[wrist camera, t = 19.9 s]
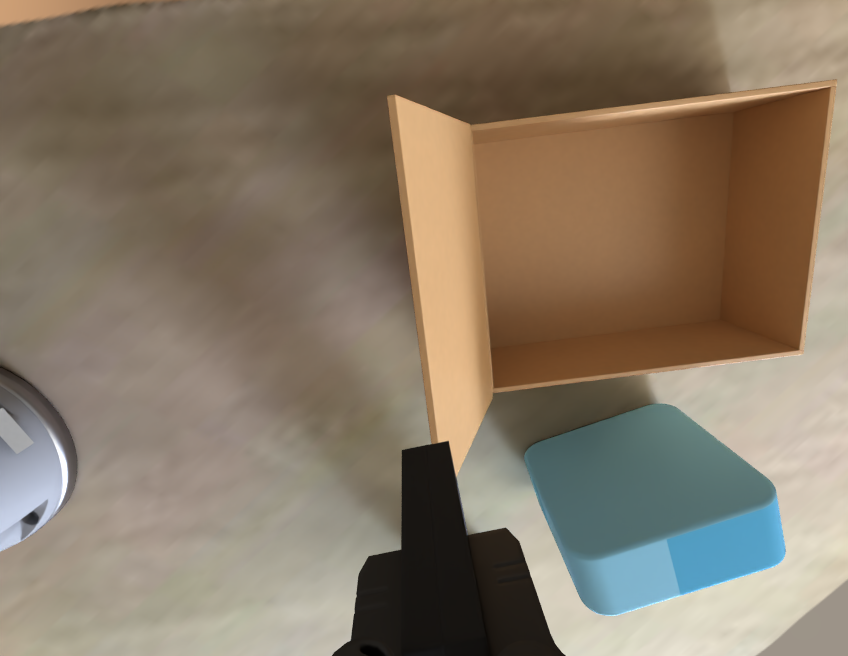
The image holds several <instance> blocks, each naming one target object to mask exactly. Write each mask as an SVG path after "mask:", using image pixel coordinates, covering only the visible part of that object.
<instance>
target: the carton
mask: <svg viewBox="0 0 848 656" xmlns="http://www.w3.org/2000/svg"><path fill="white" fill-rule="evenodd" d="M836 85H837V80H828V81H820V82H812V83H804V84H796V85H788V86H780V87H772V88H764V89H756V90H748V91H740V92H731V93H723V94H715V95H707V96H699V97H691V98H683V99H675V100H667V101H659V102H651V103H643V104H635V105H627V106H619V107H611V108H602V109H594V110H586V111H578V112H570V113H562V114H554V115H546V116H538V117H530V118H522V119H514V120H506V121H498V122H490V123H482V124H473V125H470V129H471V141H472V153H473V165H474V177H475V189H476V201H477V213H478V225H479V237H480V249H481V261H482V273H483V285H484V297H485V309H486V321H487V333H488V345H489V357H490V369H491V380H492V392H493V393H498V392H506V391H514V390H522V389H530V388H538V387H546V386H554V385H562V384H570V383H578V382H586V381H594V380H602V379H610V378H618V377H626V376H634V375H642V374H650V373H658V372H666V371H674V370H682V369H690V368H698V367H706V366H714V365H722V364H730V363H738V362H746V361H754V360H762V359H770V358H778V357H786V356H794V355H802V354H803V353H804V345H805V337H806V329H807V321H808V312H809V304H810V296H811V288H812V280H813V272H814V264H815V256H816V247H817V239H818V231H819V223H820V215H821V207H822V199H823V191H824V182H825V174H826V166H827V158H828V150H829V142H830V134H831V126H832V118H833V109H834V101H835V93H836Z"/></svg>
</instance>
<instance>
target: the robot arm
mask: <svg viewBox="0 0 848 656" xmlns="http://www.w3.org/2000/svg"><path fill="white" fill-rule="evenodd" d="M76 477H77V455H76V450H75V446H74V443H73V440H72V437H71V435H70V432H69V430H68V428H67V426H66V425H65V423H64V421H63V419H62V418H61V417H60V415H59V414H58V412H57V411H56V410H55V408H54V407H53V406H52V405H51V404H50V403H49V401H48V400H47V399H46V398H45V397H44V396H43V395H42V394H40V393H39V392H38V391H37V390H36V389H35V388H33V387H32V386H31V385H29V384H28V383H27V382H25V381H24V380H22V379H21V378H19V377H18V376H16V375H14V374H12V373H10V372H9V371H7V370H5V369H2V368H0V551H3V550H5V549H7V548H9V547H11V546H13V545H15V544H17V543H19V542H21V541H22V540H24V539H25V538H27V537H29V536H31V535H32V534H34V533H35V532H37V531H38V530H39V529H40V528H42V527H43V526H44V525H45V524H46V523H47V522H48V521H49V520H50V519H52V518H53V517H54V516H55V515H56V514H57V513H58V512H59V511H60V510H61V509H62V508H63V506H64V505H65V504H66V503H67V501H68V499H69V498H70V496H71V494H72V491H73V489H74V486H75V482H76ZM356 594H357V597H356V602H355V614H354V619H353V628H352V636H351V641H349V642H347V643H346V644H344V645H343V646H342V647H341V648H339V649H338V650H337V651H335V652H334V654H333V655H332V656H565V655H564V654H563V653H562V652H561V651H560V649H559V648H558V647H557V646H556V644H555V643H554V640H553V638H552V636H551V634H550V631H549V628H548V625H547V622H546V619H545V616H544V613H543V611H542V608H541V605H540V602H539V599H538V596H537V593H536V590H535V587H534V584H533V581H532V578H531V576H530V572H529V569H528V566H527V563H526V561H525V557H524V554H523V551H522V548H521V545H520V543H519V541H518V540H517V539H516V538H515V537H514V536H513V535H512V534H511V532H510V531H509V530H508V529H507V528H502V529H497V530H492V531H487V532H482V533H477V534H472V535H468V533H467V528H466V523H465V518H464V512H463V508H462V503H461V498H460V493H459V488H458V483H457V479H456V474H455V469H454V464H453V459H452V454H451V449H450V445H449V441H445V442H440V443H435V444H430V445H425V446H420V447H415V448H410V449H405V450H402V540H401V550H398V551H393V552H388V553H383V554H378V555H373V556H369V557H368V558H367V560H366V562H365V564H364V566H363V568H362V569H361V571H360V573H359V576H358V585H357V593H356Z"/></svg>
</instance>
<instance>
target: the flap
mask: <svg viewBox="0 0 848 656" xmlns="http://www.w3.org/2000/svg"><path fill="white" fill-rule="evenodd" d="M387 101H388V109H389V116H390V124H391V132H392V140H393V147H394V155H395V163H396V171H397V178H398V186H399V194H400V202H401V210H402V217H403V225H404V233H405V241H406V248H407V256H408V264H409V272H410V279H411V287H412V295H413V303H414V310H415V318H416V326H417V334H418V341H419V349H420V357H421V365H422V372H423V380H424V388H425V396H426V403H427V411H428V419H429V427H430V434H431V442H432V444H435V443H440V442H445V441H449V445H450V449H451V454H452V459H453V464H454V469H455V474H456V476H457V474H458V472H459V470H460V468H461V466H462V463H463V461H464V459H465V457H466V455H467V453H468V450H469V448H470V446H471V444H472V442H473V440H474V437H475V435H476V433H477V431H478V429H479V427H480V424H481V422H482V420H483V418H484V416H485V414H486V411H487V409H488V407H489V405H490V403H491V401H492V398H493V392H492V380H491V369H490V357H489V345H488V333H487V321H486V309H485V297H484V285H483V273H482V261H481V249H480V237H479V225H478V213H477V201H476V189H475V177H474V165H473V153H472V141H471V129H470V124H468V123H466V122H463V121H461V120H458V119H456V118H453V117H451V116H448V115H446V114H443V113H441V112H438V111H436V110H433V109H431V108H428V107H426V106H423V105H421V104H418V103H416V102H413V101H411V100H408V99H405V98H403V97H400V96H398V95H395V94H394V95H389V96H387Z"/></svg>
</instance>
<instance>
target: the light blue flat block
mask: <svg viewBox="0 0 848 656" xmlns="http://www.w3.org/2000/svg"><path fill="white" fill-rule="evenodd" d="M524 460H525V463H526V466H527V469H528V472H529V475H530V478H531V481H532V484H533V487H534V490H535V493H536V495H537V498H538V501H539V504H540V506H541V509H542V511H543V513H544V516H545V518H546V520H547V523H548V525H549V527H550V529H551V532H552V534H553V536H554V539H555V541H556V543H557V546H558V548H559V550H560V553H561V555H562V557H563V560H564V562H565V564H566V566H567V569H568V571H569V573H570V576H571V578H572V580H573V583H574V585H575V587H576V590H577V592H578V594H579V596H580V598H581V600H582V602H583V603H584V604H585V605H586V606H587V607H588V608H589V609H590V610H592V611H594V612H596V613H598V614H601V615H606V616H614V615H619V614H623V613H626V612H629V611H632V610H636V609H639V608H642V607H645V606H649V605H652V604H655V603H658V602H662V601H665V600H668V599H671V598H675V597H678V596H681V595H684V594H687V593H691V592H694V591H697V590H700V589H704V588H707V587H710V586H713V585H717V584H720V583H723V582H726V581H730V580H733V579H736V578H739V577H742V576H746V575H749V574H752V573H755V572H759V571H762V570H765V569H768V568H771V567H774V566H776V565H778V564H779V563H780V562H781V561H782V560H783V558H784V556H785V552H786V549H785V543H784V537H783V531H782V524H781V518H780V512H779V506H778V500H777V494H776V489H775V487H774V485H773V483H772V482H771V481H770V480H769V479H768V478H766V477H765V476H764V475H763V474H761V473H760V472H759V471H757V470H756V469H755V468H754V467H752V466H751V465H750V464H748V463H747V462H746V461H745V460H743V459H742V458H741V457H739V456H738V455H737V454H736V453H734V452H733V451H732V450H730V449H729V448H728V447H727V446H725V445H724V444H723V443H721V442H720V441H719V440H717V439H716V438H715V437H714V436H712V435H711V434H710V433H708V432H707V431H706V430H705V429H703V428H702V427H701V426H699V425H698V424H697V423H696V422H694V421H693V420H692V419H690V418H689V417H688V416H687V415H685V414H684V413H683V412H681V411H680V410H679V409H678V408H676V407H674V406H671V405H667V404H651V405H647V406H644V407H641V408H638V409H635V410H632V411H629V412H626V413H623V414H620V415H617V416H614V417H611V418H608V419H606V420H603V421H600V422H597V423H594V424H591V425H588V426H585V427H582V428H579V429H576V430H573V431H570V432H567V433H564V434H561V435H558V436H555V437H552V438H549V439H546V440H543V441H540V442H538V443H535V444H534V445H532V446H531V447H530V448H529V449H528V450H527V451H526V453H525V456H524Z"/></svg>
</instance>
